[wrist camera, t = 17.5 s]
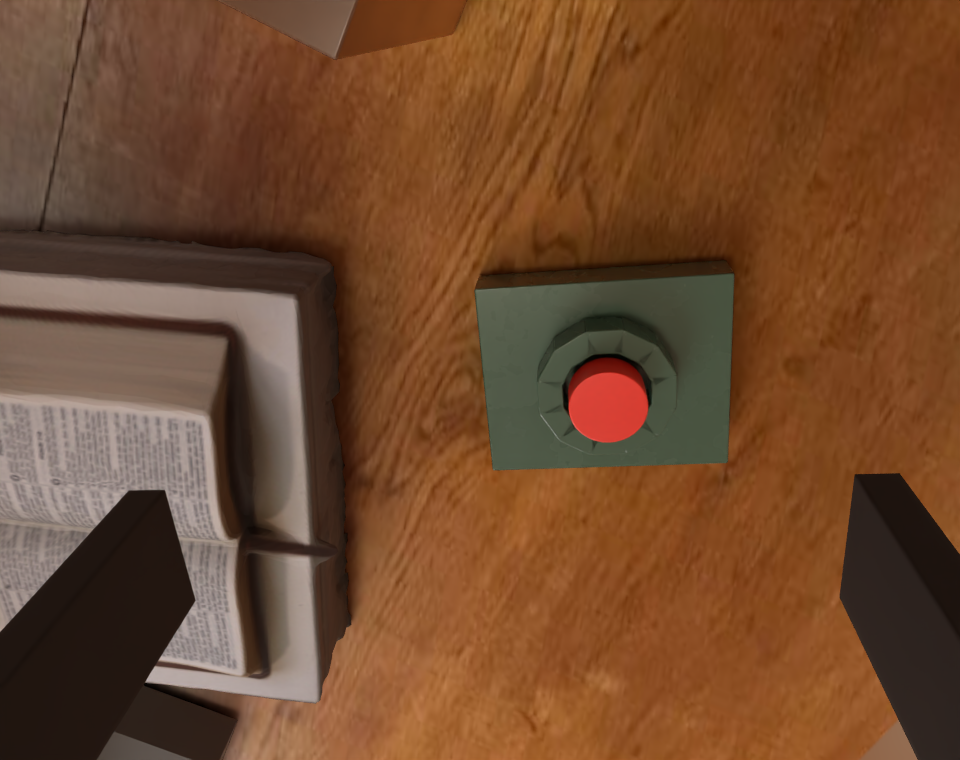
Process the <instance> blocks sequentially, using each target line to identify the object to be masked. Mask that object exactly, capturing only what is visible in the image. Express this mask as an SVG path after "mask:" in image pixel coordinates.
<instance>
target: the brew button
mask: <svg viewBox="0 0 960 760" xmlns="http://www.w3.org/2000/svg"><path fill="white" fill-rule="evenodd" d="M568 409H569V415H570V419H571V421H572V423H573V425H574V426H575V427H576V429H577V430H578V431H579V432H580V433H581V434H583V435H584V436H586V437H588V438H590V439H592V440H595V441H599V442H617V441H621V440H624V439H626V438H628V437H630V436H632V435H633V434H634V433H636V432H637V431H638V430H639V429H640V428H641V426H642V425H643V423H644V422H645V420H646V417H647V414H648V399H647V394H646V389H645V384H644V381H643V378H642V376H641V375H640V373H639V372H638V371H637V369H636V368H634V367H633V366H632V365H631V364H629V363H627V362H626V361H623V360H621V359H617V358H609V357H605V358H598V359H594V360H592V361H589V362H587V363H586V364H584V365H583V366H581V367H580V368H579V369H578V370H577V371H576V372H575V374H574V375H573V377H572V379H571V381H570V384H569V390H568Z"/></svg>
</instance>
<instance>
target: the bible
mask: <svg viewBox="0 0 960 760" xmlns="http://www.w3.org/2000/svg"><path fill="white" fill-rule="evenodd" d="M336 287H337V285H336V282H335V278H334V266H331V263H329V262H328V261H327V260H325V259H322V258H318V257H314V256H311V255H308V254H305V253H303V252H287V253H280V252H271V251H267V250H264V249H261V248H236V249H228V248H221V247H213V246H207V245H201V244H199V243H196V242H194V241H192V244H181V243H180V242H179V241H178V240H177V241H172V242H168V241H163V240H158V239H153V238H138V237H119V236H91V235H85V234H81V235H71V234H64V233H57V232H52V231H46V232H44V233H43V232H39V231H36V230H33V231H31V232H28V231H25V230H14V231H0V632H1V630H2V629H3V628H4V627H5V626H6V625H7V624H8V623H9V622H10V621H11V619H12V618H13V617H14V616H15V615H16V614H17V613H18V612H19V611H20V610H21V608H22V607H23V606H24V605H25V604H26V603H27V602H28V601H29V600H30V599H31V597H32V596H33V595H34V594H35V593H36V592H37V591H38V590H39V589H40V588H41V586H42V585H43V584H44V583H45V582H46V581H47V580H48V579H49V578H50V577H51V575H52V574H53V573H54V572H55V571H56V570H57V569H58V568H59V567H60V566H61V564H62V563H63V562H64V561H65V560H66V559H67V558H68V557H69V556H70V555H71V553H72V552H73V551H74V550H75V549H76V548H77V547H78V546H79V545H80V543H81V542H82V541H83V540H84V539H85V538H86V537H87V536H88V535H89V534H90V532H91V531H92V530H93V529H94V528H95V527H96V526H97V525H98V524H99V523H100V521H101V520H102V519H103V518H104V517H105V516H106V515H107V514H108V513H109V512H110V510H111V509H112V508H113V507H114V506H115V505H116V504H117V503H118V502H119V501H120V499H121V498H122V497H123V496H124V495H125V494H126V493H127V492H128V491H129V490H165V492H166V495H167V499H168V502H169V506H170V510H171V513H172V517H173V520H174V524H175V528H176V531H177V535H178V538H179V542H180V546H181V549H182V553H183V556H184V560H185V564H186V567H187V571H188V574H189V578H190V582H191V585H192V589H193V592H194V596H195V600H196V601H195V603H194V604H193V606H192V607H191V609H190V611H189V612H188V614H187V616H186V617H185V619H184V620H183V622H182V624H181V625H180V627H179V628H178V630H177V632H176V633H175V635H174V636H173V638H172V640H171V641H170V643H169V644H168V646H167V648H166V649H165V651H164V652H163V654H162V656H161V657H160V659H159V660H158V662H157V664H156V665H155V667H154V669H153V670H152V672H151V673H150V675H149V677H148V678H147V680H146V681H145V683H155V684H165V685H173V686H180V687H187V688H197V689H209V690H215V691H221V692H227V693H233V694H241V695H248V696H257V697H264V698H271V699H279V700H288V701H298V702H307V703H317V702H319V701H320V698H321V694H322V685H323V682H324V680H325V678H326V677H327V675H328V673H329V669H330V664H331V659H332V652H333V650H334V647H335V644H336V642H337V641H338V640H340V639H341V638H343V636H344V634H345V630H346V627H349V626H350V625H351V616H350V614H349V613H348V611H347V604H348V598H347V595H346V591H347V587H348V582H349V580H348V573H345V567H346V563H347V560H346V557H345V549H346V543H347V541H348V539H347V533H345V534H344V522H345V518H346V517H345V508H346V506H345V501H344V497H345V492H344V489H345V481H344V477H343V473H342V470H343V468H344V466H345V465H344V463H343V460H342V456H341V444H340V440H339V431H338V429H337V426H336V423H335V412H334V406H333V404H332V401H331V400H332V399H333V398H334V397H335V396H336V395H337V394H338V393H339V389H340V384H339V381H338V368H339V357H338V326H337V319H336V313H335V310H334V308H333V304H334V300H335V297H336Z"/></svg>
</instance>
